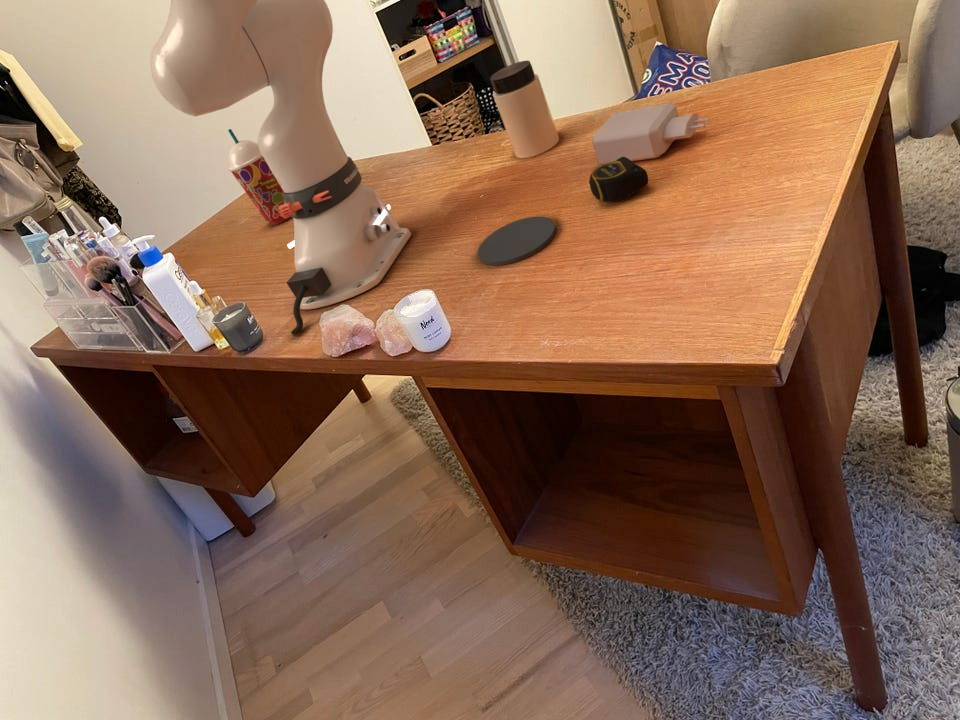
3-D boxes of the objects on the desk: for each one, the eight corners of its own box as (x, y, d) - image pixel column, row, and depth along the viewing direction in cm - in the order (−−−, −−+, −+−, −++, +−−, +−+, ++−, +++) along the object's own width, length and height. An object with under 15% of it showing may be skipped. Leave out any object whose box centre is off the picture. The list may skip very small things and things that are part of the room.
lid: (534, 82, 109) (529, 67, 107) (493, 98, 111) (488, 84, 109) (535, 70, 114) (530, 56, 113) (496, 85, 116) (491, 72, 115)
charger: (699, 155, 91) (599, 168, 101) (720, 124, 96) (624, 139, 106) (692, 122, 89) (590, 138, 98) (714, 91, 94) (616, 109, 103)
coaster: (556, 249, 86) (554, 245, 86) (475, 274, 89) (474, 270, 89) (556, 211, 95) (554, 207, 95) (483, 235, 98) (481, 232, 98)
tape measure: (653, 191, 88) (646, 164, 86) (604, 213, 89) (596, 187, 87) (634, 176, 94) (627, 151, 92) (588, 196, 94) (580, 172, 92)
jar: (559, 147, 114) (533, 70, 107) (514, 163, 116) (486, 89, 109) (559, 131, 120) (534, 57, 113) (516, 146, 123) (490, 75, 116)
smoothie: (291, 222, 140) (236, 130, 129) (259, 232, 143) (202, 144, 132) (306, 203, 146) (255, 115, 136) (275, 214, 149) (222, 128, 139)
